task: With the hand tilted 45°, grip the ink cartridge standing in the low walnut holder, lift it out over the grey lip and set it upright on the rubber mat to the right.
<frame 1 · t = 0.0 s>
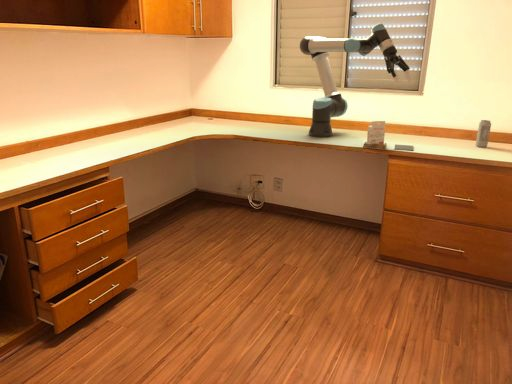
hand: (404, 81, 240), 36 cm above the table, tool tilted 35°, fingers open, 13 cm apart
ink cartridge box: (374, 146, 247), resting in holder
grey tall block: (481, 147, 246), on the table
holder: (374, 145, 247), on the table
mat: (403, 147, 242), on the table
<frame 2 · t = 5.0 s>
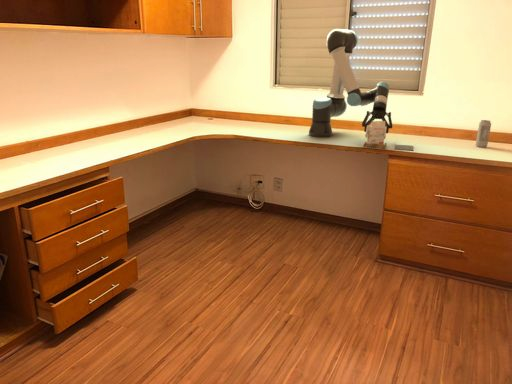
hand: (375, 136, 242), 6 cm above the table, tool tilted 45°, fingers closed on ink cartridge box, 9 cm apart
ink cartridge box: (374, 146, 247), resting in holder, touching gripper
everything else where it was.
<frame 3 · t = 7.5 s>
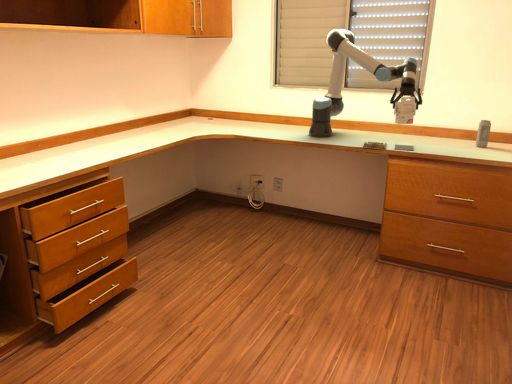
hand: (404, 113, 233), 20 cm above the table, tool tilted 45°, fingers closed on ink cartridge box, 9 cm apart
ink cartridge box: (403, 123, 238), point 14 cm above the table, touching gripper
everything else where it was.
when the fingers open (7 cm above the table, at t = 10.4 s): ink cartridge box stays where it is, resting on mat.
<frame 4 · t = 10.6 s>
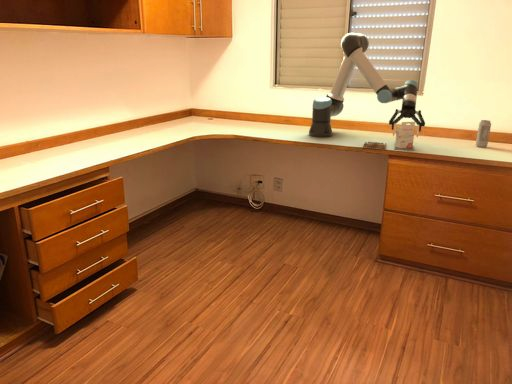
hand: (405, 134, 237), 8 cm above the table, tool tilted 45°, fingers open, 12 cm apart
ink cartridge box: (403, 147, 242), resting on mat
everything else where it was.
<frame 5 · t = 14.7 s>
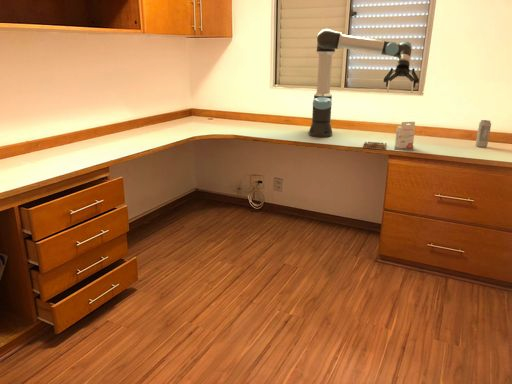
hand: (399, 90, 253), 30 cm above the table, tool tilted 45°, fingers open, 13 cm apart
nothing on the table moved.
at the end: ink cartridge box inside the target area on the mat (0.2 cm from its centre), point 0.2 cm above the mat's base; ink cartridge box tilted 0°; the gripper is holding nothing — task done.
